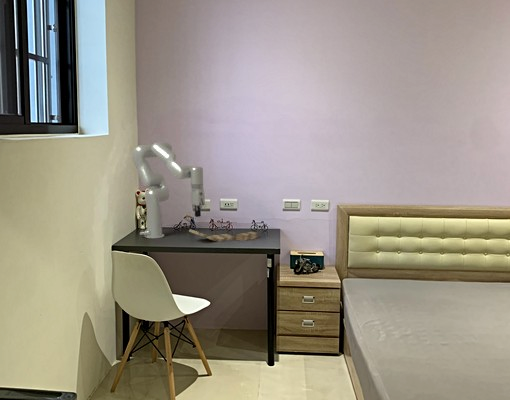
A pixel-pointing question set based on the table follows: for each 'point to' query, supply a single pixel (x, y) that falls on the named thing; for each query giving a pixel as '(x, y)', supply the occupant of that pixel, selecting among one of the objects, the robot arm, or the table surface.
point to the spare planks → (247, 236)
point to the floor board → (223, 237)
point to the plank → (202, 235)
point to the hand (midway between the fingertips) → (197, 216)
